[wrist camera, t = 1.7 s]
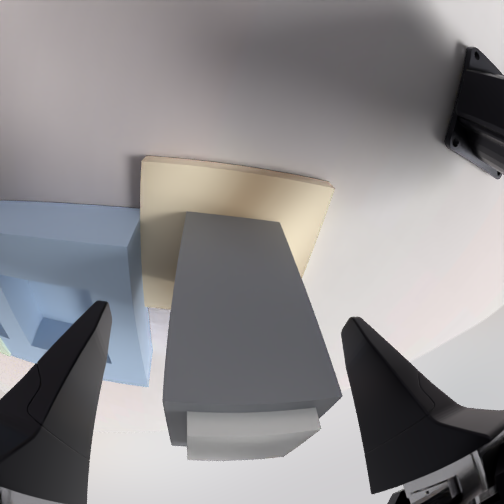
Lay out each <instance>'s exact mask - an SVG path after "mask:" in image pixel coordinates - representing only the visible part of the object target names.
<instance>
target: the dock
mask: <svg viewBox="0 0 504 504" xmlns="http://www.w3.org/2000/svg"><path fill="white" fill-rule="evenodd" d="M97 300H101V301H107V302H108V303H109V306H110V311H111V315H112V326H111V333H110V340H109V347H108V355H107V361H106V366H105V371H104V375H103V380H105V381H111V382H116V383H122V384H129V385H136V386H143V387H149V378H150V369H151V360H152V352H153V349H152V341H151V333H150V324H149V314H148V307H145V304H144V293H143V280H142V264H141V240H140V209H139V208H127V207H114V206H101V205H87V204H71V203H53V202H32V201H5V200H0V353H2V354H5V355H7V356H14V357H17V358H20V359H23V360H26V361H29V362H32V363H35V364H36V363H37V362H38V360H39V359H40V358H41V357H42V356H43V355H44V354H45V353H46V352H47V351H48V350H49V348H50V347H51V346H52V345H53V344H54V343H55V342H56V341H57V340H58V339H59V338H60V337H61V336H62V335H63V334H64V333H65V332H66V331H67V330H68V329H69V328H70V326H71V325H72V324H73V323H74V322H75V321H76V320H77V319H78V318H79V317H80V316H81V315H82V314H83V313H84V312H85V311H86V310H87V309H89V308H90V307H91V306H92V305H93V304H94V303H95V302H96V301H97ZM37 364H38V363H37Z"/></svg>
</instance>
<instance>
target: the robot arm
mask: <svg viewBox="0 0 504 504" xmlns="http://www.w3.org/2000/svg"><path fill="white" fill-rule="evenodd" d="M453 140H454V142H453ZM445 144H446V146H447V147H448V148H449V149H450V150H452V151H454V152H456V153H457V154H459V155H461V156H462V157H464V158H466V159H467V160H469V161H470V162H472V163H473V164H475V165H477V166H478V167H480V168H481V169H483V170H484V171H486V172H487V173H488V174H490V175H491V176H493V177H494V178H496V179H500V177H501V176H502V174H503V175H504V75H503V74H502V73H501V72H500V71H499V70H498V69H497V68H496V66H495V65H494V64H493V63H492V62H491V61H490V60H489V59H488V58H487V57H486V56H485V55H484V54H483V53H482V52H481V51H480V50H479V49H477V48H476V47H468V48H467V51H466V57H465V63H464V68H463V73H462V78H461V82H460V87H459V91H458V95H457V99H456V103H455V107H454V111H453V114H452V118H451V121H450V125H449V128H448V131H447V134H446V138H445ZM111 326H112V315H111V311H110V306H109V303H108V302H107V301H101V300H97V301H96V302H95V303H94V304H93V305H92V306H91V307H90V308H89V309H87V310H86V311H85V312H84V313H83V314H82V315H81V316H80V317H79V318H78V319H77V320H76V321H75V322H74V323H73V324H72V325H71V326H70V328H69V329H68V330H67V331H66V332H65V333H64V334H63V335H62V336H61V337H60V338H59V339H58V340H57V341H56V342H55V343H54V344H53V345H52V346H51V347H50V348H49V350H48V351H47V352H46V353H45V354H44V355H43V356H42V357H41V358H40V359H39V360H38V362H37V363H38V364H37V363H36V364H35V365H34V366H33V367H32V368H31V369H30V370H29V371H28V373H27V374H26V375H25V376H24V377H23V378H22V379H21V380H20V381H19V382H18V383H17V384H16V385H15V386H14V387H13V388H12V389H11V390H10V391H9V392H8V393H7V394H5V395H4V396H3V398H1V400H0V504H87V486H88V473H89V462H90V461H89V460H90V452H91V443H92V436H93V429H94V422H95V416H96V410H97V405H98V399H99V394H100V389H101V384H102V380H103V375H104V371H105V366H106V361H107V355H108V347H109V340H110V333H111ZM341 337H342V344H343V350H344V357H345V364H346V370H347V374H348V378H349V382H350V386H351V391H352V395H353V399H354V404H355V408H356V413H357V417H358V422H359V427H360V432H361V437H362V442H363V447H364V453H365V458H366V464H367V470H368V476H369V482H370V489H371V494H375V493H378V492H382V491H385V490H388V489H391V488H394V487H397V486H400V485H403V486H404V489H402V490H400V491H398V492H395V493H393V494H392V496H391V498H390V500H389V502H388V504H504V410H500V411H498V410H484V409H474V408H466V407H463V406H461V405H459V404H457V403H456V402H454V401H453V400H452V399H451V398H450V397H448V396H447V395H446V394H445V393H443V392H442V391H441V390H440V389H438V388H437V387H436V386H435V385H434V384H432V383H431V382H430V381H429V380H428V379H427V378H426V377H425V376H423V374H422V373H420V372H419V371H418V370H417V369H416V368H415V367H414V366H413V365H412V364H411V363H410V362H409V361H408V360H407V359H405V358H404V357H403V356H402V355H401V354H400V353H399V352H398V351H397V350H396V349H395V348H394V347H392V346H391V345H390V344H389V343H388V342H387V341H386V340H385V339H384V338H383V337H382V336H381V335H379V334H378V333H377V332H376V331H375V330H374V329H373V328H372V327H371V326H370V325H368V324H367V323H366V322H365V321H364V320H363V319H362V318H360V317H350V318H349V319H348V321H347V323H346V324H345V326H344V327H343V329H342V332H341Z"/></svg>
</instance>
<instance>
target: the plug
mask: <svg viewBox="0 0 504 504" xmlns="http://www.w3.org/2000/svg"><path fill="white" fill-rule="evenodd" d="M341 397H342V393H341V390H340V387H339V384H338V381H337V378H336V375H335V372H334V369H333V366H332V363H331V360H330V357H329V354H328V351H327V348H326V345H325V342H324V339H323V336H322V334H321V331H320V328H319V325H318V322H317V319H316V317H315V314H314V311H313V308H312V306H311V303H310V300H309V297H308V295H307V292H306V289H305V287H304V284H303V281H302V278H301V276H300V273H299V271H298V268H297V265H296V263H295V260H294V257H293V255H292V252H291V250H290V247H289V244H288V242H287V239H286V237H285V234H284V232H283V229H282V227H281V224H280V222H275V221H267V220H259V219H251V218H243V217H234V216H225V215H217V214H207V213H198V212H188V211H187V212H186V217H185V222H184V228H183V233H182V239H181V244H180V250H179V256H178V263H177V269H176V276H175V282H174V289H173V297H172V304H171V312H170V321H169V329H168V339H167V349H166V360H165V372H164V385H163V406H164V411H165V417H166V422H167V426H168V431H169V436H170V440H171V444H172V445H173V446H187V458H188V460H202V461H205V460H206V461H229V460H253V459H265V458H275V457H284V456H285V455H287V454H288V453H289V452H291V451H292V450H294V449H295V448H296V447H298V446H299V445H301V444H302V443H303V442H305V441H306V440H307V439H309V438H310V437H311V436H313V435H314V434H315V433H316V432H318V431H319V430H320V429H321V426H320V422H319V418H320V417H321V416H322V415H323V414H325V412H327V411H328V410H329V409H330V408H331V407H332V406H333V405H334V404H335V403H336V402H337V401H338V400H339V399H340V398H341Z"/></svg>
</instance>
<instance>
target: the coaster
mask: <svg viewBox="0 0 504 504" xmlns="http://www.w3.org/2000/svg"><path fill="white" fill-rule="evenodd" d="M334 189H335V188H334V187H333V186H332V185H331V184H330V183H329V182H328V181H323V180H319V179H314V178H309V177H304V176H299V175H294V174H288V173H283V172H277V171H271V170H265V169H259V168H253V167H246V166H239V165H232V164H225V163H217V162H209V161H200V160H191V159H181V158H170V157H157V156H146V157H145V158H144V159H143V160H142V162H141V185H140V240H141V264H142V280H143V293H144V304H145V307H151V308H160V309H170V310H171V304H172V297H173V289H174V282H175V276H176V269H177V263H178V256H179V250H180V244H181V239H182V233H183V228H184V222H185V217H186V212H187V211H188V212H198V213H207V214H217V215H225V216H234V217H243V218H251V219H259V220H267V221H275V222H280V224H281V227H282V229H283V232H284V234H285V237H286V239H287V242H288V244H289V247H290V250H291V252H292V255H293V257H294V260H295V263H296V265H297V268H298V271H299V273H300V276H301V278H302V276H303V274H304V271H305V269H306V266H307V264H308V261H309V258H310V256H311V253H312V251H313V248H314V245H315V243H316V240H317V237H318V235H319V232H320V229H321V226H322V224H323V221H324V218H325V215H326V212H327V210H328V207H329V204H330V201H331V198H332V195H333V192H334Z"/></svg>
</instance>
